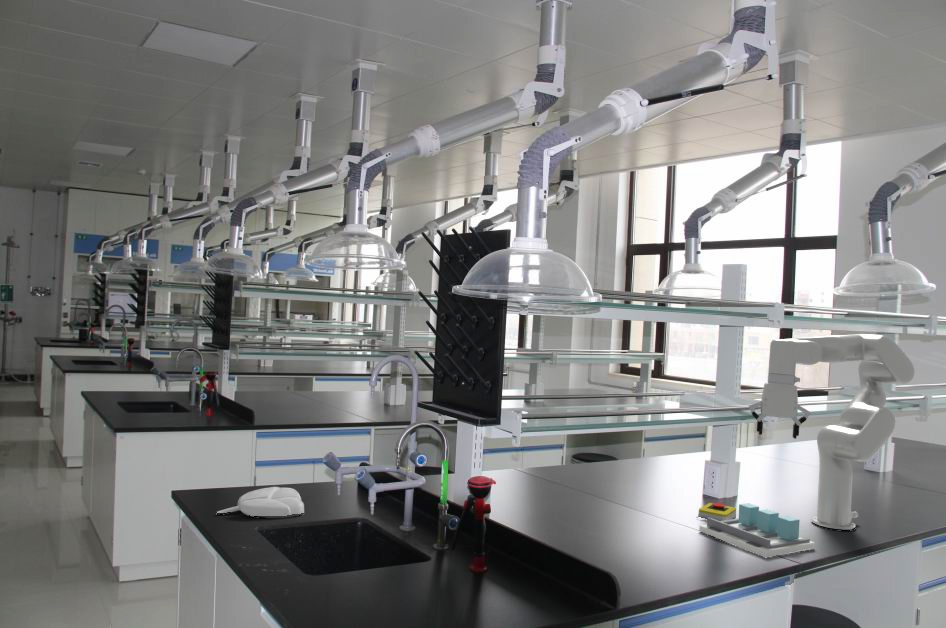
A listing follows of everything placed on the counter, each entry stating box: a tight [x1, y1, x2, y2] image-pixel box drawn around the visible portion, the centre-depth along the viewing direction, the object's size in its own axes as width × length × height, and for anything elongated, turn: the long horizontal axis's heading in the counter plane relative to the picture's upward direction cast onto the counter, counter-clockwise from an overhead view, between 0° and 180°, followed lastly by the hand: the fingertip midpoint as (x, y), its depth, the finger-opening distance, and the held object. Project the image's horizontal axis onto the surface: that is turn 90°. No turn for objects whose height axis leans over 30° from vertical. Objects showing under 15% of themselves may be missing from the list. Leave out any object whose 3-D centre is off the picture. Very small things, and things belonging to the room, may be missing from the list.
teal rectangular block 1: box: [737, 503, 760, 526], centre depth 218 cm, size 4×4×6 cm
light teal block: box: [757, 508, 780, 533], centre depth 211 cm, size 4×4×6 cm
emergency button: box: [697, 502, 737, 521], centre depth 232 cm, size 9×4×15 cm
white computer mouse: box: [216, 486, 305, 517], centre depth 215 cm, size 7×17×25 cm
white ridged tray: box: [698, 518, 816, 558], centre depth 209 cm, size 20×24×4 cm
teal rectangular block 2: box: [777, 515, 800, 540], centre depth 205 cm, size 4×4×6 cm
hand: (777, 436), depth 218 cm, fingers open, 9 cm apart
